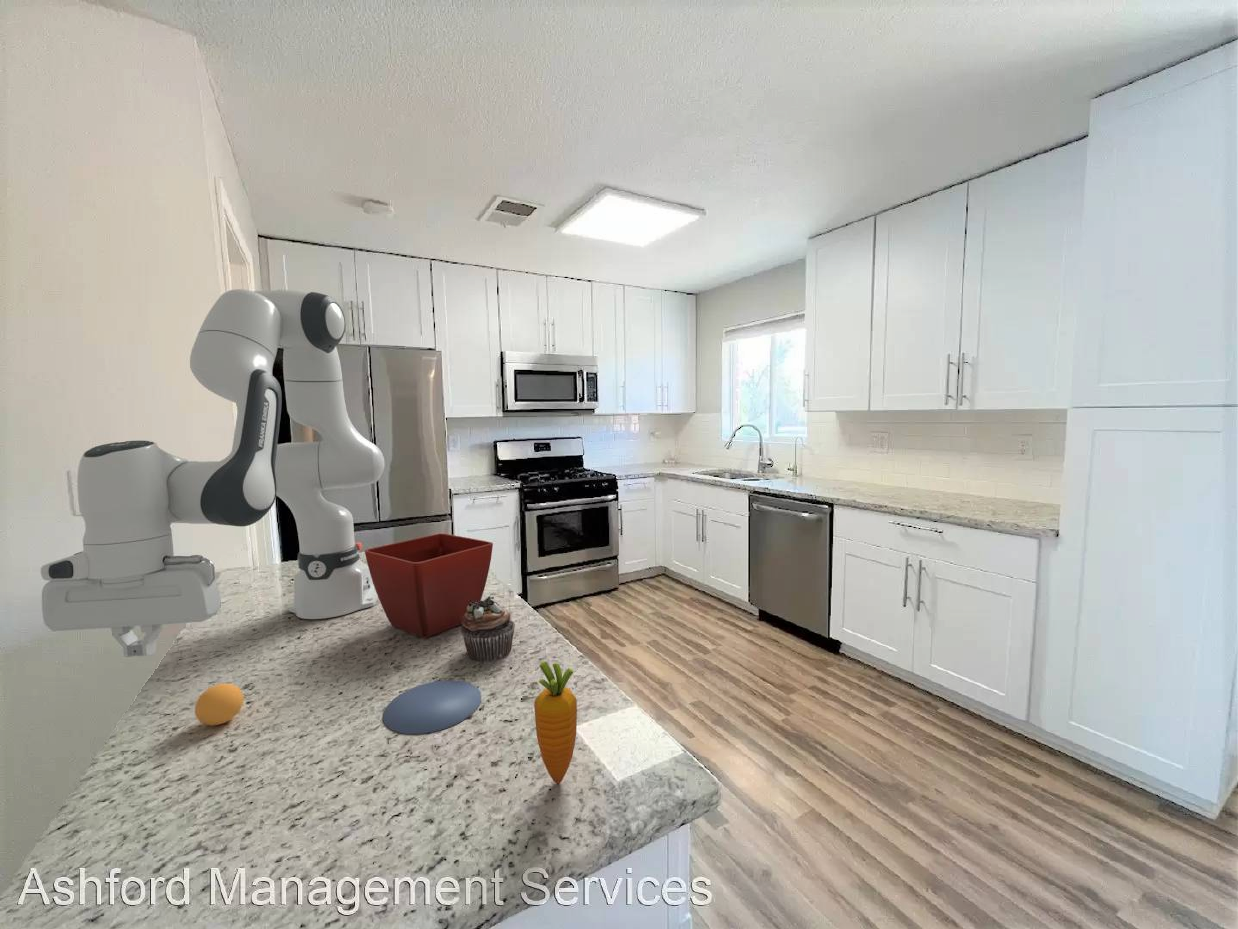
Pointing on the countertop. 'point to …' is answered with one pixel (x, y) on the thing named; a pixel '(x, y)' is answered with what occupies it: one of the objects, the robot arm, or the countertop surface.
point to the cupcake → (487, 630)
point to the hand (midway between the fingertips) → (140, 654)
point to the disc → (432, 707)
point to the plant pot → (429, 580)
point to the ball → (219, 704)
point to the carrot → (556, 721)
